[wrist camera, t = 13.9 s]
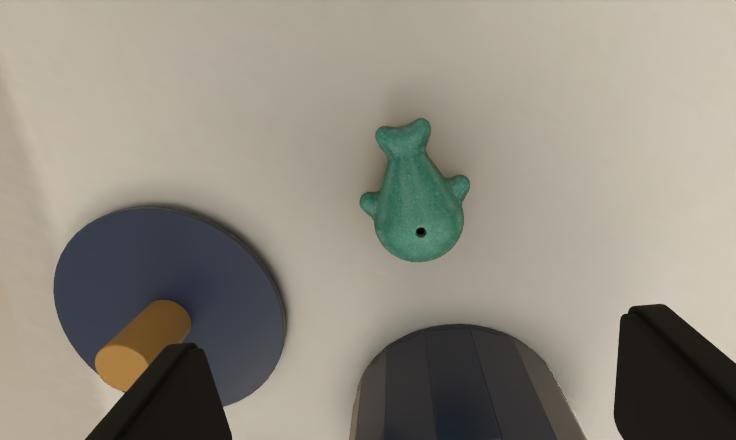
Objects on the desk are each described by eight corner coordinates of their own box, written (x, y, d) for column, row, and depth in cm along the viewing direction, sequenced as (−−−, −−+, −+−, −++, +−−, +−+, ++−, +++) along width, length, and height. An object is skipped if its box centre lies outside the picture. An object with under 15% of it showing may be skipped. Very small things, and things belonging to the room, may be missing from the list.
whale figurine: (372, 252, 24) (368, 284, 20) (348, 128, 21) (338, 139, 18) (472, 238, 23) (486, 268, 19) (458, 108, 21) (471, 116, 17)
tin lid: (28, 219, 24) (-72, 258, 19) (257, 187, 23) (215, 220, 18) (115, 405, 29) (53, 478, 24) (309, 390, 28) (289, 464, 22)
